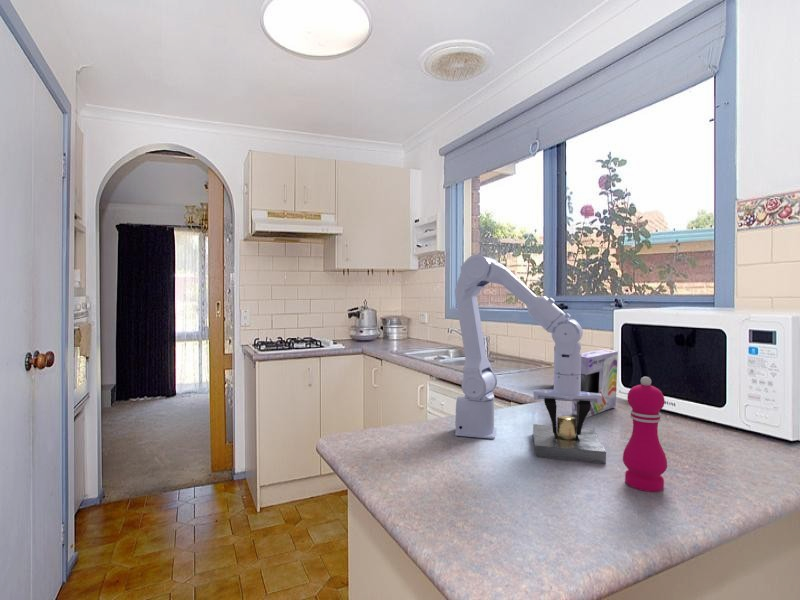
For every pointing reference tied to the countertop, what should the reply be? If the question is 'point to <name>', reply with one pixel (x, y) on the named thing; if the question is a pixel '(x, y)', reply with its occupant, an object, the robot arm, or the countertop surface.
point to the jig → (568, 445)
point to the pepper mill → (645, 439)
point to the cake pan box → (599, 379)
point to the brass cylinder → (566, 428)
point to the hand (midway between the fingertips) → (566, 432)
